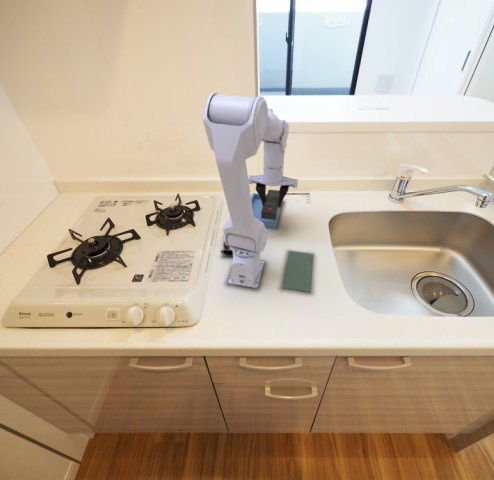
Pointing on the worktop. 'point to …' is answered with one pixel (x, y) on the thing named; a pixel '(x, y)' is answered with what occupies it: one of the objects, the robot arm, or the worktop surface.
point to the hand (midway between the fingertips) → (272, 205)
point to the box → (257, 209)
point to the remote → (271, 205)
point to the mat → (298, 271)
